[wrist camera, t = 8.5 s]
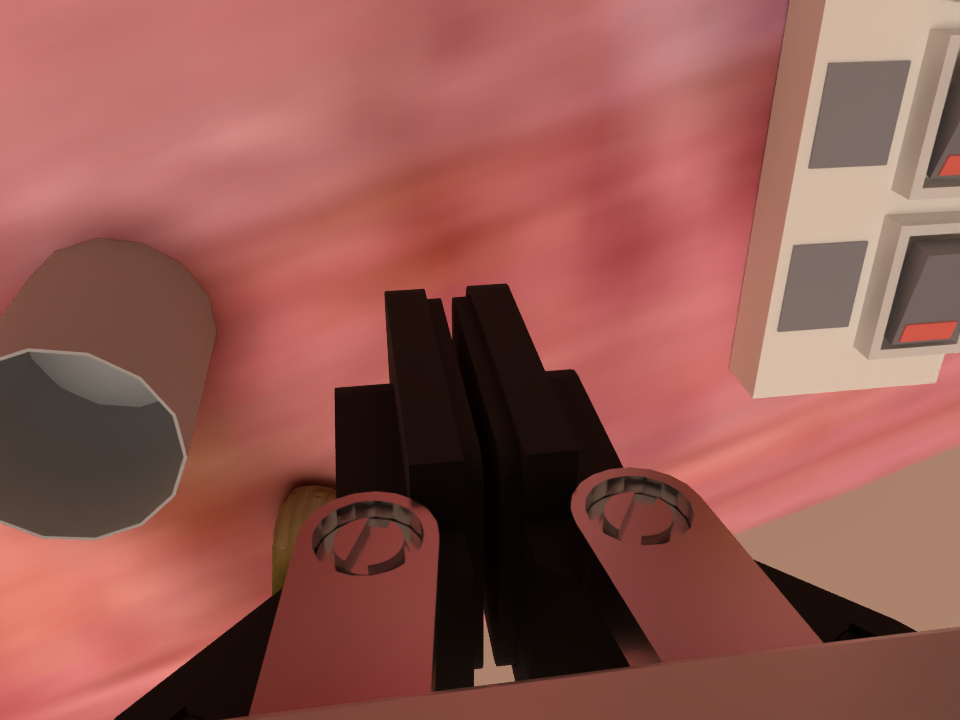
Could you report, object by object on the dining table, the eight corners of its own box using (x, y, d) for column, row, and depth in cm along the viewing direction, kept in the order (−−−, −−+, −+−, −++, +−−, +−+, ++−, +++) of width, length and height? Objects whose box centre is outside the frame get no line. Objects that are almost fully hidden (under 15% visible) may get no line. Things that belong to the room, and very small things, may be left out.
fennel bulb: (266, 475, 45) (248, 656, 35) (360, 461, 46) (370, 636, 35) (285, 558, 48) (273, 748, 38) (374, 545, 48) (386, 729, 38)
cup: (219, 250, 39) (189, 360, 30) (214, 406, 43) (185, 542, 34) (13, 229, 37) (-82, 340, 28) (27, 394, 41) (-54, 535, 32)
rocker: (914, 241, 39) (929, 256, 38) (979, 237, 39) (996, 252, 38) (878, 329, 42) (892, 346, 41) (939, 325, 43) (954, 341, 42)
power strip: (836, -283, 32) (903, -302, 28) (1077, -277, 34) (1173, -295, 30) (728, 368, 46) (764, 413, 42) (903, 354, 47) (952, 397, 44)
